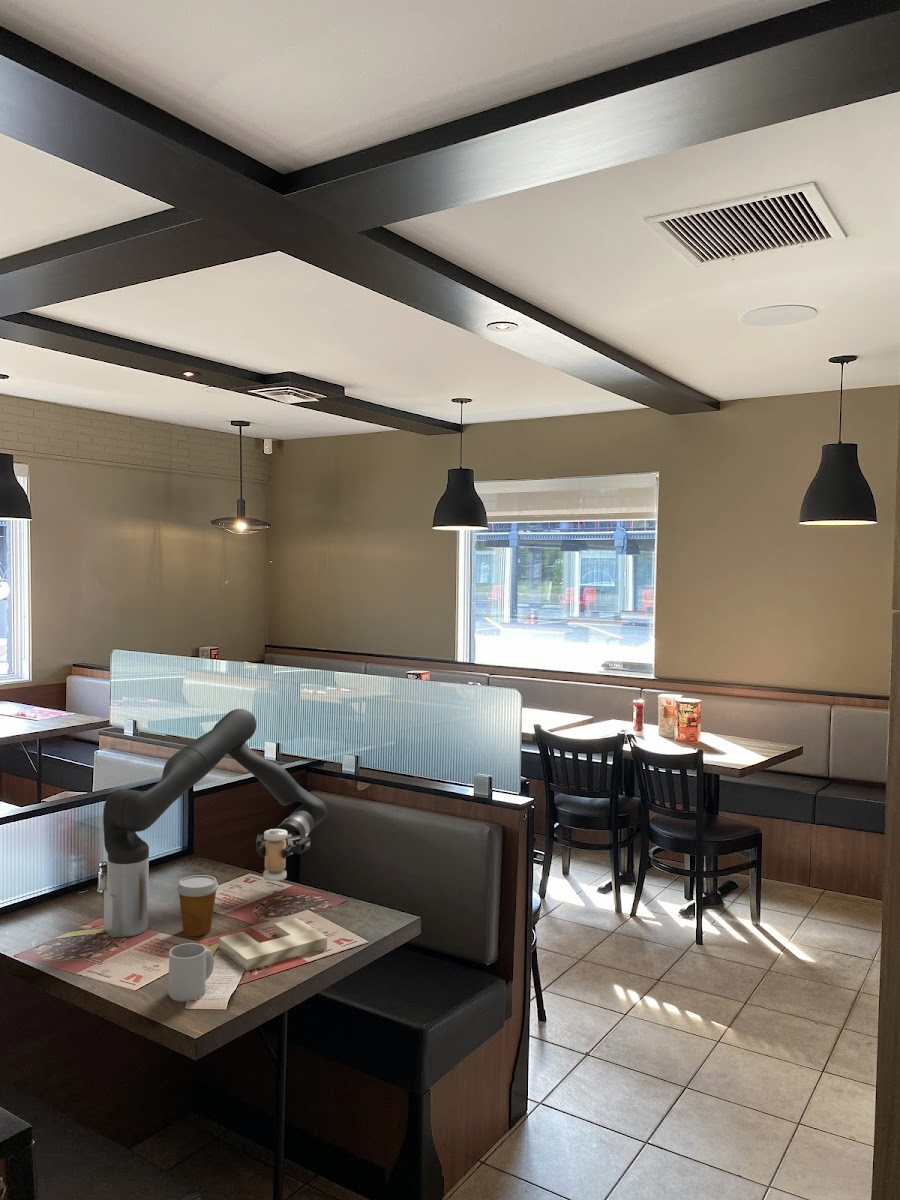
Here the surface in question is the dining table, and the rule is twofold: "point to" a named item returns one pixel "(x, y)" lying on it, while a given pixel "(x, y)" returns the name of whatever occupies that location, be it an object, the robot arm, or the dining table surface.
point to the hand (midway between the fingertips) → (272, 853)
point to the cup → (189, 971)
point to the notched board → (273, 944)
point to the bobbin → (275, 855)
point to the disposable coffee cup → (197, 903)
